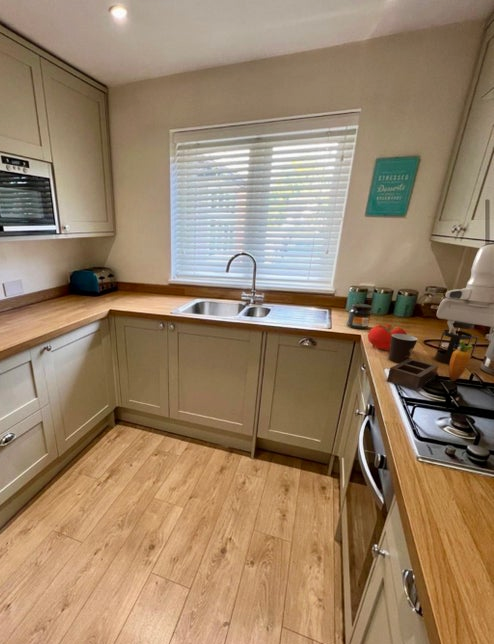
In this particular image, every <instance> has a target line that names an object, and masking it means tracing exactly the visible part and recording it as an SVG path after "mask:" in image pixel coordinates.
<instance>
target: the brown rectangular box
mask: <svg viewBox="0 0 494 644" xmlns="http://www.w3.org/2000/svg"><path fill="white" fill-rule="evenodd" d="M438 369H439V365H436V364H433V363H429V362H427V361H422V360H418V359H415V358H411V357H410V358H409V359H407V360H405V361H403V362H401V363H396V364H395V365H393V366H391V367H390V368H389V372H388V375H387V379H386V382H388V383H390V384H394V385H396V386H399V387H403V388H406V389H409V390H412V391H415V392H417V391H419V390H420V389H422V388H423V387H425V386H426V385H427V384H429V383H430V382H432V381H434V380H435V379H436V375H437V372H438ZM433 377H434V378H433ZM431 378H432V379H431ZM429 379H431V380H429ZM428 380H429V381H428ZM426 381H428V382H426ZM425 382H426V383H425Z"/></svg>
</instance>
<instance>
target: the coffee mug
mask: <svg viewBox="0 0 494 644" xmlns="http://www.w3.org/2000/svg"><path fill="white" fill-rule="evenodd" d="M418 339H419V338H417V337H416V336H413V335H410V334H407V335H405V334H392V336H391V345H390V350H389V354H388V360H389V361H390V362H392V363H395V364H399V363H401V362H403V361H405V360H407V359H409V358H411V355H412V353H413V351H414V349H415V346H416V344H417V342H418Z"/></svg>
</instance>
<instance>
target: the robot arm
mask: <svg viewBox="0 0 494 644" xmlns="http://www.w3.org/2000/svg"><path fill="white" fill-rule="evenodd" d="M436 317H437V318H438V319H440V320H446V321H447V322H446V323H447V326H448V330H449V333H450V334H454V335H456V330H457V327H453V324H452V323H454V322H455V321H459V322H465V323H471V324H475V325H477V326H484V327H490V328H492V332H491V333H487V334H485V337H484V341H488V342H491V341H492V340H493V337H494V241H493V242H488V243H485V244H484V245H482V246H480V247H479V249H478V250H477V252H476V255H475V257H474V259H473V263H472V266H471V269H470V278H469V280H468V281H467V283H466V286H465V287H464V288H463V287H459V288H457V289H451V290H448V291H446V293H445V298H443V299H442V300H441V301H440V303H439V306H438V308H437V311H436Z"/></svg>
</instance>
